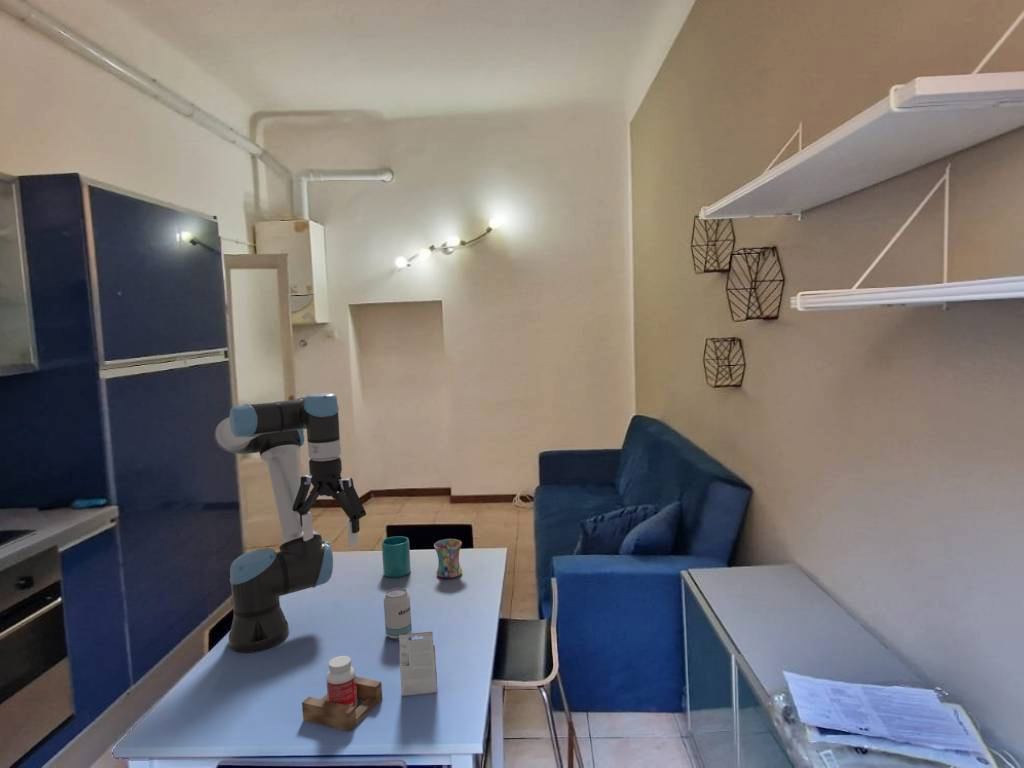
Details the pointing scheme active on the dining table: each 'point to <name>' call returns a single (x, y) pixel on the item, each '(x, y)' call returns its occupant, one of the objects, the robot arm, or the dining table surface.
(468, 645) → the dining table surface
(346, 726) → the walnut holder
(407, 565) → the cup
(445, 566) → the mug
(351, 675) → the pill bottle
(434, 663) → the ink box
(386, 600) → the beverage can
